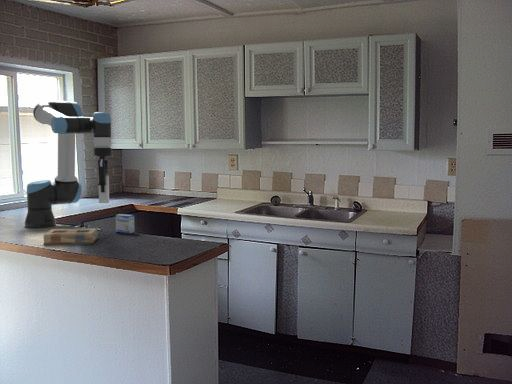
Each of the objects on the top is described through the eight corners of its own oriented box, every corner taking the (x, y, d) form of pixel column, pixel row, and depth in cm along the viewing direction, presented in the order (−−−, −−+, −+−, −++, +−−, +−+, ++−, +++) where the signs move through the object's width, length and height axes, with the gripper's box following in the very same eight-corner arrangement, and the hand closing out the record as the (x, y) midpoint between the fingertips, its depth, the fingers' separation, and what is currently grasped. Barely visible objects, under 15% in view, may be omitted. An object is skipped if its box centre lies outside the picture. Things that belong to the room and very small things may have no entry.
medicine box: (115, 232, 256) (115, 215, 255) (120, 231, 260) (120, 213, 259) (129, 233, 253) (129, 215, 252) (134, 232, 257) (134, 214, 257)
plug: (100, 202, 241) (99, 173, 239) (109, 201, 241) (108, 173, 240) (99, 203, 237) (98, 174, 235) (108, 203, 237) (107, 174, 236)
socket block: (52, 238, 240) (51, 228, 239) (97, 237, 242) (97, 227, 242) (43, 245, 226) (43, 234, 225) (91, 244, 228) (91, 233, 228)
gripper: (96, 146, 244) (98, 196, 247) (90, 147, 227) (92, 201, 230) (113, 146, 245) (114, 196, 248) (108, 147, 228) (110, 201, 231)
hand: (104, 198), depth 239 cm, fingers closed on plug, 4 cm apart
